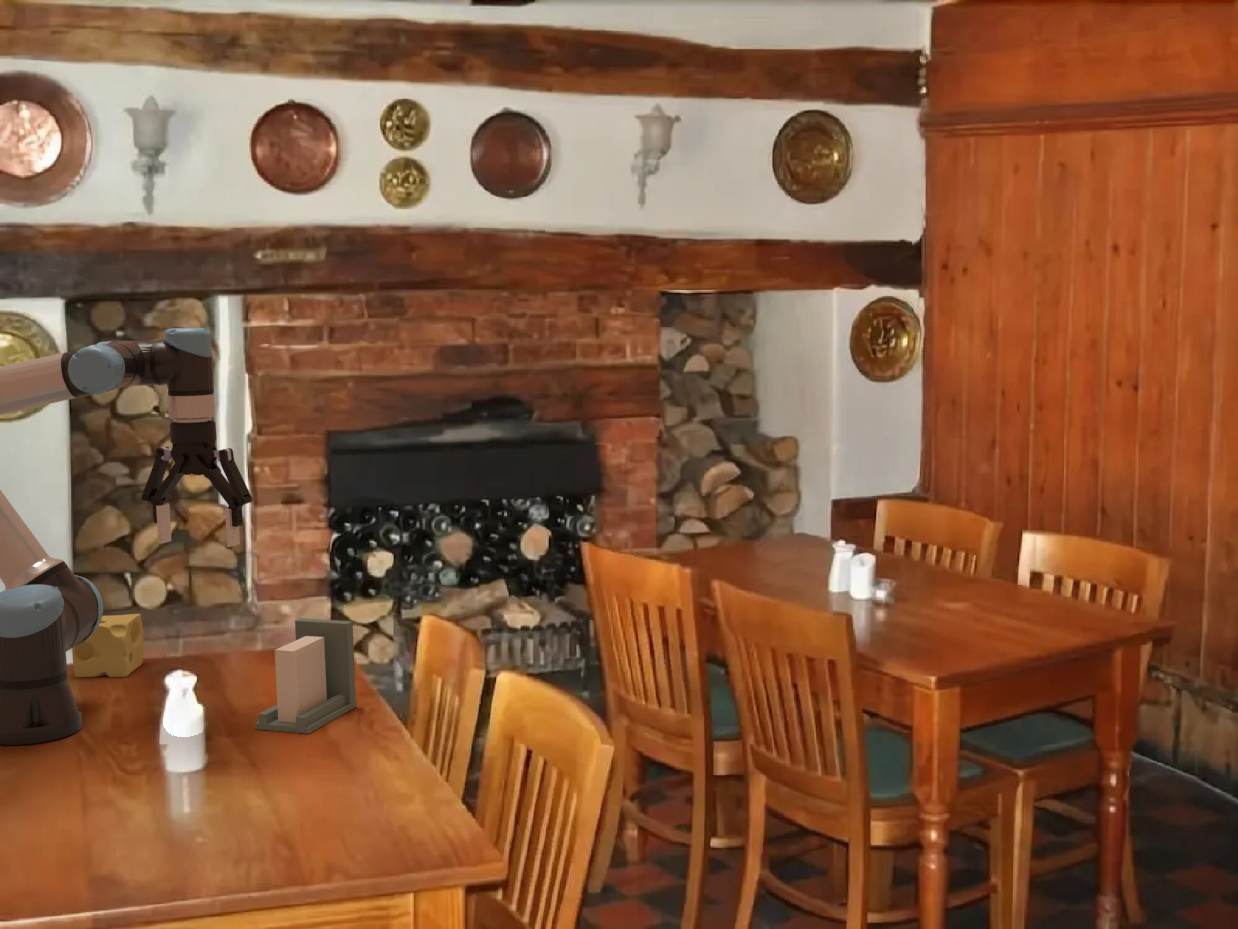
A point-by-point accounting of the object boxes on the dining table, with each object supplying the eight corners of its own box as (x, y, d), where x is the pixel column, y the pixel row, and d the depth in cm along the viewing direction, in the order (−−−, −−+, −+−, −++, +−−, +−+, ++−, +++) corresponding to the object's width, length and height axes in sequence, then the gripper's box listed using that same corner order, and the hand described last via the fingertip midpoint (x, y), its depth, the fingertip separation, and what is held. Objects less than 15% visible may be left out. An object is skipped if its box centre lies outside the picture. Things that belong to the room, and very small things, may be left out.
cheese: (127, 677, 288) (124, 625, 287) (70, 678, 288) (67, 626, 287) (145, 663, 298) (142, 612, 297) (90, 664, 298) (87, 613, 297)
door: (297, 723, 253) (293, 651, 251) (277, 721, 254) (274, 650, 253) (327, 706, 262) (324, 637, 261) (308, 704, 263) (305, 636, 262)
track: (308, 733, 250) (304, 643, 248) (254, 729, 253) (250, 639, 251) (356, 707, 265) (352, 621, 263) (304, 702, 268) (300, 618, 266)
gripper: (269, 418, 260) (274, 543, 262) (143, 416, 268) (150, 537, 270) (244, 423, 253) (250, 550, 255) (116, 420, 261) (123, 544, 263)
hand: (198, 544), depth 263 cm, fingers open, 13 cm apart
